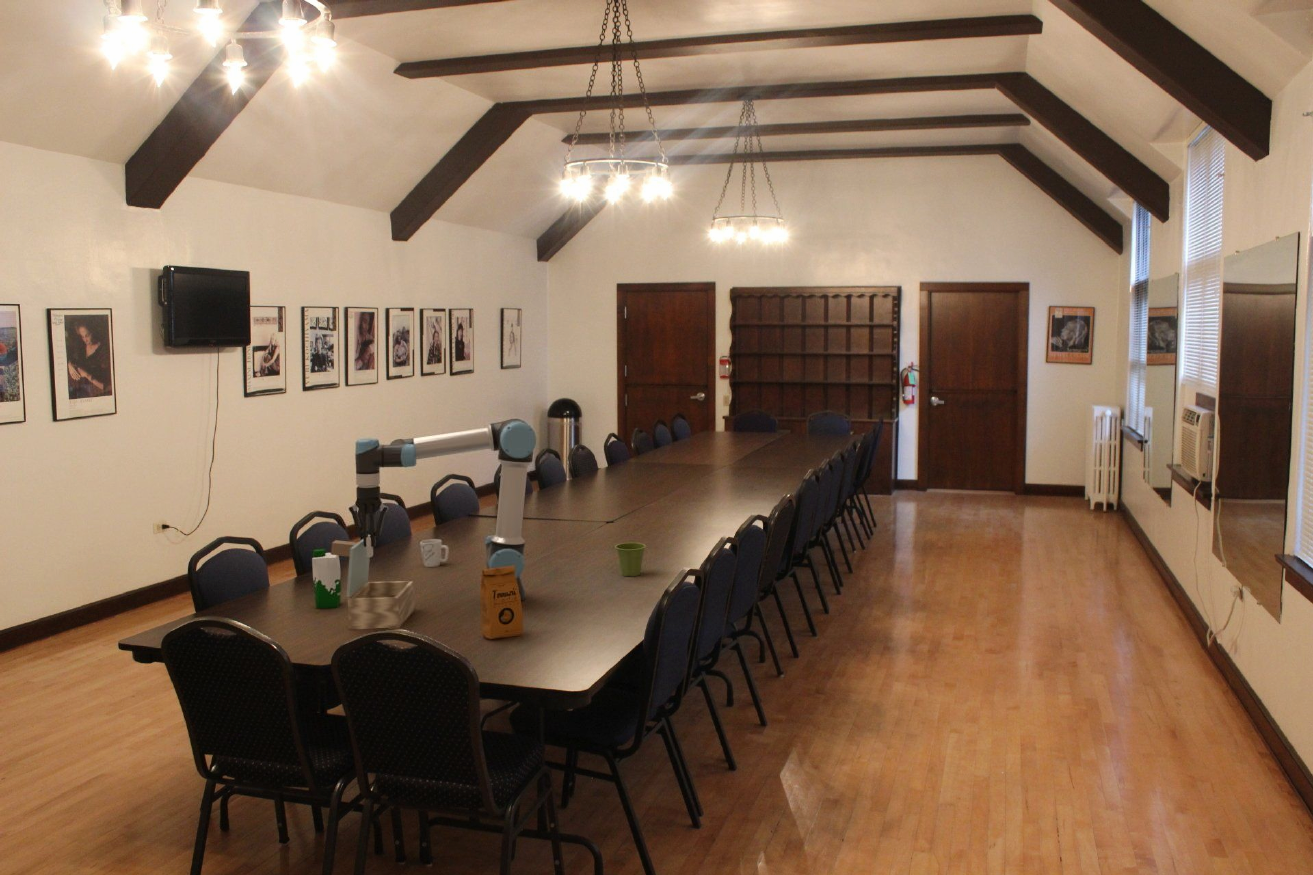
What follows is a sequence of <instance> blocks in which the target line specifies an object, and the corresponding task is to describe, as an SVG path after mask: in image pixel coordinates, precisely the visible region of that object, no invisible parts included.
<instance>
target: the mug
mask: <svg viewBox="0 0 1313 875" xmlns="http://www.w3.org/2000/svg"><path fill="white" fill-rule="evenodd" d="M442 543H443V542H442V539H436V538H429V539H424V540H421V541H420V544H419V545H420V553H421V558H422V562H423V566H424V567H425V568H435V567H439V566H440V564H441V563H446V562H447V561H448V558H449V553H450V547H449V546H448V545H444V544H442ZM442 549H444V550H445V554H444V558H443V557H442Z"/></svg>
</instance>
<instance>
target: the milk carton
mask: <svg viewBox="0 0 1313 875" xmlns="http://www.w3.org/2000/svg"><path fill="white" fill-rule="evenodd" d="M311 563H312V564H311V566H312V580H313V596H314V603H315V609H316V610H321V609H322V610H323V609H333V608H335V609H336V608H338V607H339V605H340V603H341V597H342V579H341V576H342V575H341V563H340V556H339V555H331V552H326V550H325V548H317V549H313V550H312V558H311Z"/></svg>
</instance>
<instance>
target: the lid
mask: <svg viewBox="0 0 1313 875" xmlns="http://www.w3.org/2000/svg"><path fill="white" fill-rule="evenodd" d="M368 536H370V534H369V535H368ZM330 553H331V555H339V557H349V559H348V561H349V562H348V573H347V583H346V584H347V585H346V586H347V587H346V596H345V597H347V598H349V597H351V596H352V595H353V594H354V593H355V592H356V591H357V590H358V589H360V588H361V587H362V586H363V585H364V584H365V583H366V582H369V571H370V560H371V557H367V547H364V543H363V538H362V539H361V540H359V541H358V542H354V541H345V540H337V539H335V540H334V541H332V542H331V551H330Z"/></svg>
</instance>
